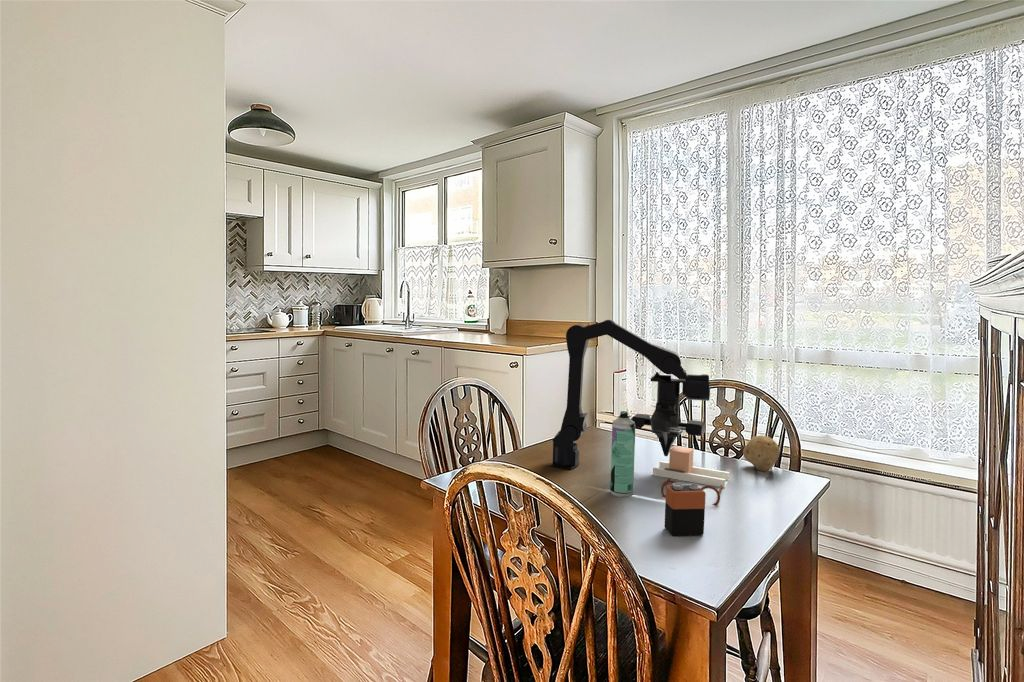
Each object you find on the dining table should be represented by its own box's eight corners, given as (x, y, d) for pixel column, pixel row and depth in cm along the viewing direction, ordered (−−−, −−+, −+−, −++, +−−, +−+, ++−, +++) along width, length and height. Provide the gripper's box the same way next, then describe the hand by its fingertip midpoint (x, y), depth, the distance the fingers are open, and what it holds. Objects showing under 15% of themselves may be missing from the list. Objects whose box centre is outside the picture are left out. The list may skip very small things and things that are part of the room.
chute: (652, 477, 145) (653, 466, 145) (659, 469, 151) (660, 459, 151) (724, 489, 136) (724, 478, 136) (729, 481, 142) (729, 471, 142)
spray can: (634, 490, 135) (637, 410, 133) (631, 498, 130) (634, 415, 128) (612, 487, 137) (614, 408, 135) (608, 495, 131) (610, 413, 130)
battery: (663, 527, 113) (665, 480, 113) (695, 527, 114) (697, 480, 113) (671, 537, 109) (673, 488, 108) (704, 536, 110) (706, 487, 109)
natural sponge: (738, 471, 151) (740, 435, 150) (747, 463, 158) (749, 429, 157) (774, 478, 146) (776, 441, 145) (781, 470, 153) (783, 435, 152)
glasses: (660, 500, 130) (661, 480, 129) (668, 483, 141) (669, 464, 141) (719, 510, 124) (720, 488, 124) (722, 491, 136) (723, 472, 136)
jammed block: (668, 476, 144) (669, 450, 144) (673, 471, 148) (674, 445, 148) (688, 479, 142) (689, 453, 141) (692, 474, 146) (693, 448, 145)
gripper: (624, 399, 143) (622, 458, 144) (698, 407, 134) (695, 469, 135) (637, 393, 153) (635, 448, 154) (707, 400, 143) (704, 458, 145)
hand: (666, 455), depth 147 cm, fingers closed
